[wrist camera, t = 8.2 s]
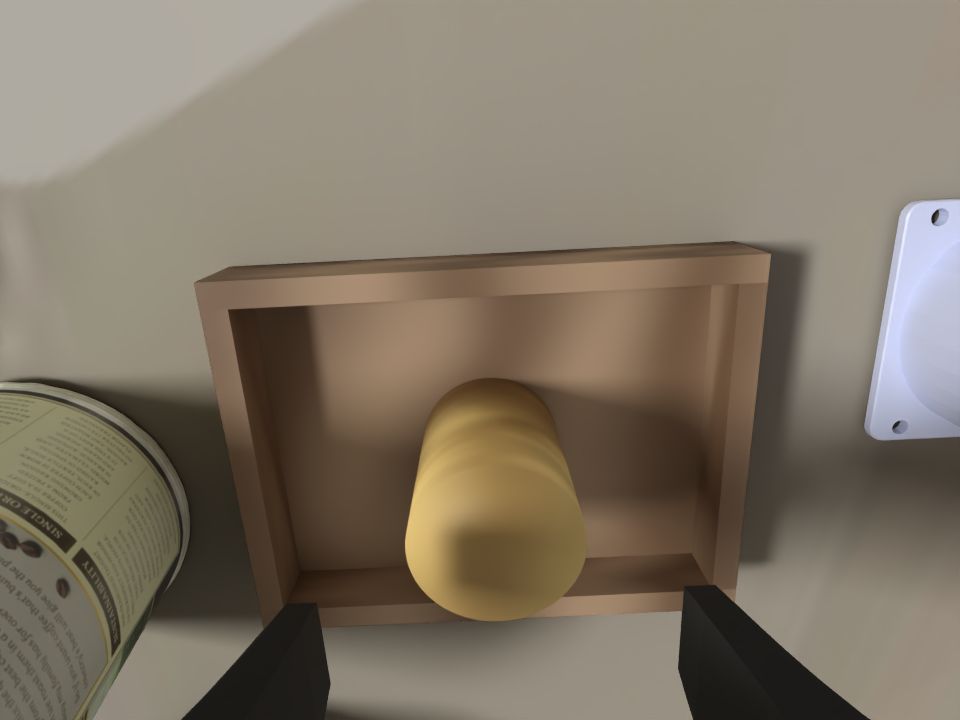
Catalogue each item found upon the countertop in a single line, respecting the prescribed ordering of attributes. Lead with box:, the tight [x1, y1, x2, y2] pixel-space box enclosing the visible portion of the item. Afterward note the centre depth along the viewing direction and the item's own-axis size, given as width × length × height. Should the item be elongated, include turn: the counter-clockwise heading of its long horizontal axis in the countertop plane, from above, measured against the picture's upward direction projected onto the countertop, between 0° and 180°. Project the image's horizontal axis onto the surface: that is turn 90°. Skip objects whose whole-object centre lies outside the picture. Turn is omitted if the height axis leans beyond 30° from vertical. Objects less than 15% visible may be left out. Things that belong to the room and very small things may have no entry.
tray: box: [194, 241, 771, 628], centre depth 20 cm, size 16×12×3 cm
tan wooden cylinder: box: [405, 378, 588, 621], centre depth 18 cm, size 4×4×6 cm
